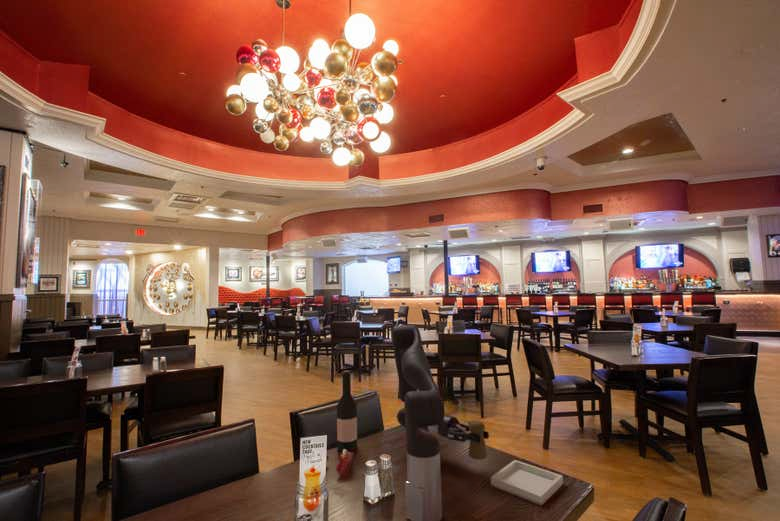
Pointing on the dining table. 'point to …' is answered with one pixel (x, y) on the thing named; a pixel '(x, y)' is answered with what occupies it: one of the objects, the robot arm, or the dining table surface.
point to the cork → (476, 448)
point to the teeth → (344, 463)
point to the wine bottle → (346, 418)
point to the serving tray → (527, 482)
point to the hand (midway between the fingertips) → (484, 437)
